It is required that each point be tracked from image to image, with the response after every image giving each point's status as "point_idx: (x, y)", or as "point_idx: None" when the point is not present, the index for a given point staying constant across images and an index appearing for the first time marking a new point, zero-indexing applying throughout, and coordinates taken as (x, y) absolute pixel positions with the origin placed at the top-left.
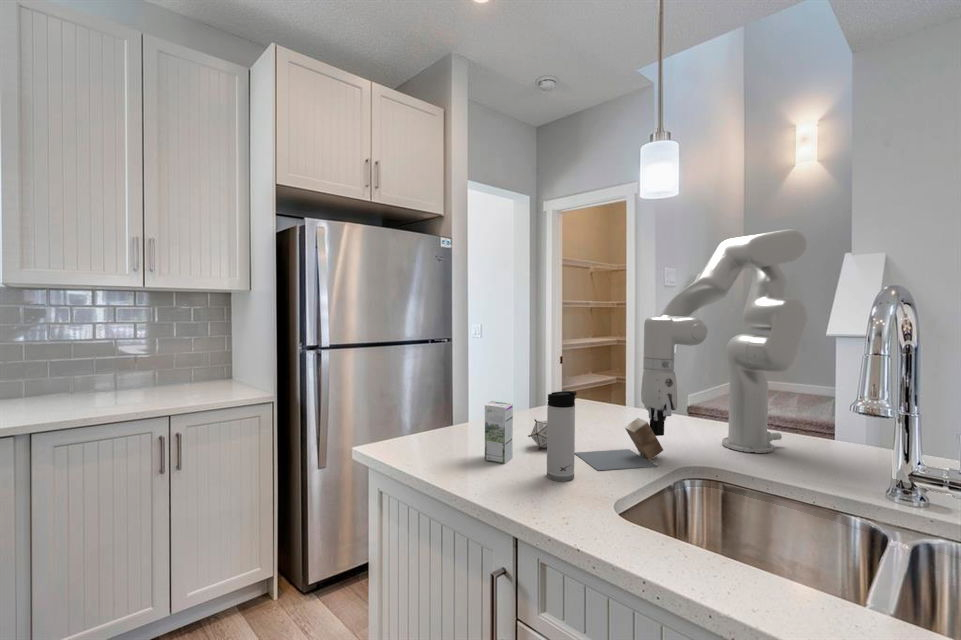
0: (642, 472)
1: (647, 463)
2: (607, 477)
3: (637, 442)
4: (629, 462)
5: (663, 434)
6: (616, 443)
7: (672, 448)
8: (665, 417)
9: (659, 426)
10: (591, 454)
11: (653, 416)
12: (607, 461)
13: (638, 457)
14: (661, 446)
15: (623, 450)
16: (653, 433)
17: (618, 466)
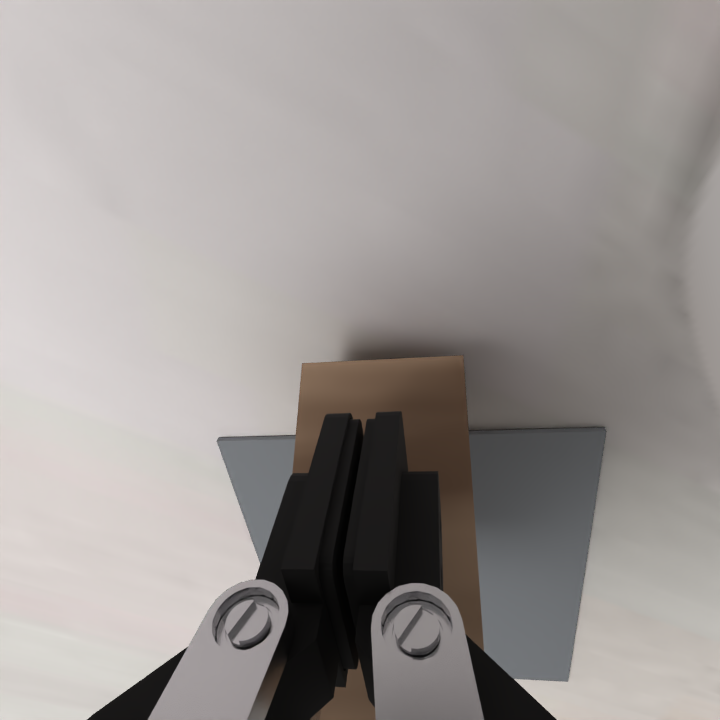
0: (665, 542)
1: (537, 466)
2: (661, 676)
3: None
4: (492, 540)
5: (401, 417)
6: (75, 447)
7: (124, 55)
8: (536, 704)
9: (441, 569)
10: None
11: (314, 709)
12: None
13: None
14: (465, 396)
15: (251, 481)
16: (477, 571)
17: (544, 605)
